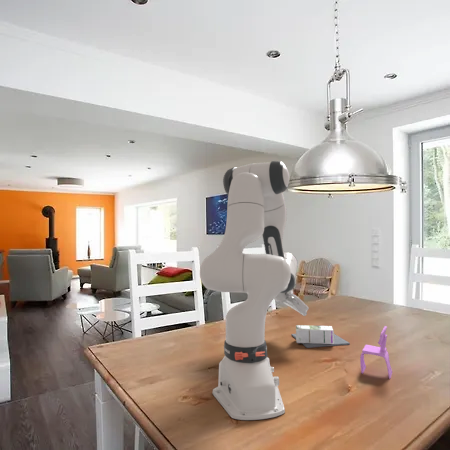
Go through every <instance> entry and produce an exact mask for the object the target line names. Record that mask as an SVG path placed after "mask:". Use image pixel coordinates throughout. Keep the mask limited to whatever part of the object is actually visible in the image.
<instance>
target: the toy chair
mask: <svg viewBox="0 0 450 450" xmlns="http://www.w3.org/2000/svg"><path fill="white" fill-rule="evenodd" d="M387 329H388V326H387V325H384V327H383V329H382V330H381V333H380V335H379V338H378V339H379V340H378V342H377V343H378V345H379V346H375V345H371V344H365V345H364V347H363V348H362V350H361V351H362V352H361V354H360V359H359V360H360V371H361V372H360V373H361V374H364V373H365V370H366V369H367V365H366V363H365V355H373V356H378V357H382V358H383V359H384V360H385V364H386V367H387V368H386V369H387V373H388V379H391V378H392V375H393V370H392V367H391V363H390V355H389V352H388V350H387V349H388V348H387V347H386V346H387V338H388V334H386V331H387Z"/></svg>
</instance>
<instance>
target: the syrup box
mask: <svg viewBox="0 0 450 450" xmlns="http://www.w3.org/2000/svg"><path fill="white" fill-rule="evenodd" d="M334 331H335V330H334V329H333V326H332V325H310V324H309V325H307V324H306V325H304V324H303V325H302V324H301V325H300V324H296V325H295V334H296V339H295V342H296V343H297V344H302V343H314V344H334V334H335V332H334Z"/></svg>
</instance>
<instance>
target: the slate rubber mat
mask: <svg viewBox="0 0 450 450" xmlns="http://www.w3.org/2000/svg"><path fill="white" fill-rule="evenodd" d="M291 337H293V338H294V339H295V340H296V333H291ZM301 345H303V346H304V347H305V348H306V349H309V348H311V349H312V348H323V347H324V348H325V347H336V346H348V345H350V342H349V341H347V340H346V339H344V338H342V337H340V336H339V335H337V334H335V333H334V344H314V343H301Z"/></svg>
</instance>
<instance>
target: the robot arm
mask: <svg viewBox="0 0 450 450" xmlns="http://www.w3.org/2000/svg"><path fill="white" fill-rule="evenodd" d="M290 178H291V177H290V172H289V169H288V167H287V165H286V164H285V163H284V162H283V161H280V160H271V161H269V162H267V161H266V162H256V163H253V162H252V163H248V164H245V165H244V164H243V165H241V166H238V167H237V166H234V167H232V168H231V167H230V168H229V169H227V170H226V171H225V173H224V175H223V179H222V183H223V189H224V191H225V193H226V194H227V205H226V206H227V208H226V209H227V210H226V211H227V212H226V224H225V230H224V235H223V237H222V240H221V242H220V243H219V245H218V246H217V248H216V249H215V250H213V252H211V253H210V254H209V255H207V256H206V257H205V258H204V259H203V261H202V262H201V264H200V267H199V277H200V281H201V283H202V285H203V286H204V288H205V289H207V290H211V291H214V292H220V293H244V294H247V298H246V300H244V301H243V302H240V303H238V304H236V305H233V307H231V308H230V309H229V310H228V311H227V312H226V314H225V340H224V342H223V343H224V345H223V352H224V353H223V354H224V356H223V358H222V360H220V362H218V386H216V387H215V388H213V389H212V395H213V396H214V398H215V399H216V400H217V401H218V403H219V404H220V405H221V407H223V408H224V410H225V412H226V413H227V414H228V416H229V417H231V418H232V419H235V420H239V421H240V420H241V421H256V420H266V419H267V420H268V419H273V418H276V417H279V416H281V415H283V414H285V413H286V410H285V405H284V402H283V399H282V396H281V392H280V389H279V386H280V378H279V376H273V375H274V374H273V373H274V372H275V367H274V366H271V364H270V358H269V357H268V346H267V341H266V340H265V339H266V338H265V337H266V336H265V333H266V332H265V331H266V328H265V327H266V317H267V314H268V313H267V312H268V309H269V307H270V305H271V303H272V302H273V300H275V302H277V303H283V304H284V305H286V306H288V307H289V308H290V309H292V310H295V311H296V312H298V313H299V314H300V315H301V316H302V317H306V316H307V315H308V310H309V309H310V308H309V306H308V305H307V304H305V302H304V301H303V300H302V299H301V298H300V297H298V296H297V295H296V294H294V291H293V289H294V287H295V285H296V275H297V267H298V260H297V258H296V256H295V255H294V254H292V253H290V252H289V251H284V244H283V243H284V242H283V240H284V233H285V229H286V224H287V219H288V218H287V215H288V214H287V205H286V200H285V196H284V192H286V190H287V189H288V188H289V186H290V185H289V184H290V180H291V179H290ZM260 238H262V240H263V246H264V250H265V253H243V252H244V249H245V248H246V247H247V246H248V245H250V244H252V243H254V242H256V241H258V240H259V239H260Z"/></svg>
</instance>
